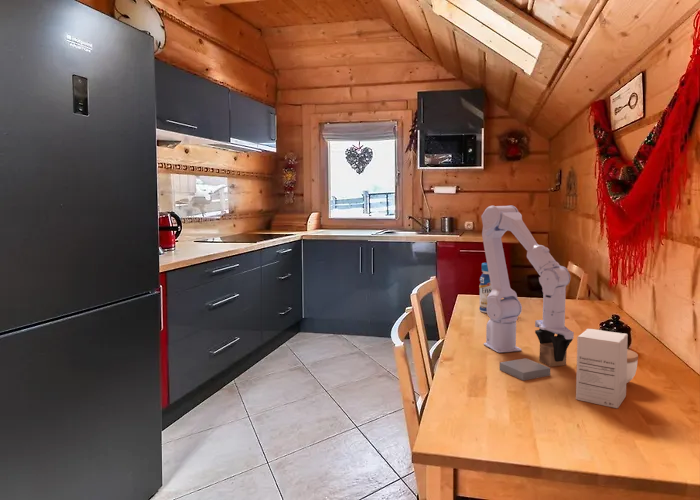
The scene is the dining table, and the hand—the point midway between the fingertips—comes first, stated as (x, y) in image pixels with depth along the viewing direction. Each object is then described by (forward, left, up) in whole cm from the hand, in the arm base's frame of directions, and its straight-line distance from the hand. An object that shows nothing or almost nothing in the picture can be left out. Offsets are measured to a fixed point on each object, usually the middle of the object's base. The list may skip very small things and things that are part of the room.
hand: (552, 358), depth 141 cm
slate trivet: (+5, -12, -2) cm, 13 cm away
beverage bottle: (-65, +16, -2) cm, 67 cm away
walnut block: (0, 0, -1) cm, 1 cm away
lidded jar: (+17, +5, -2) cm, 18 cm away
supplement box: (+25, -5, -2) cm, 26 cm away
